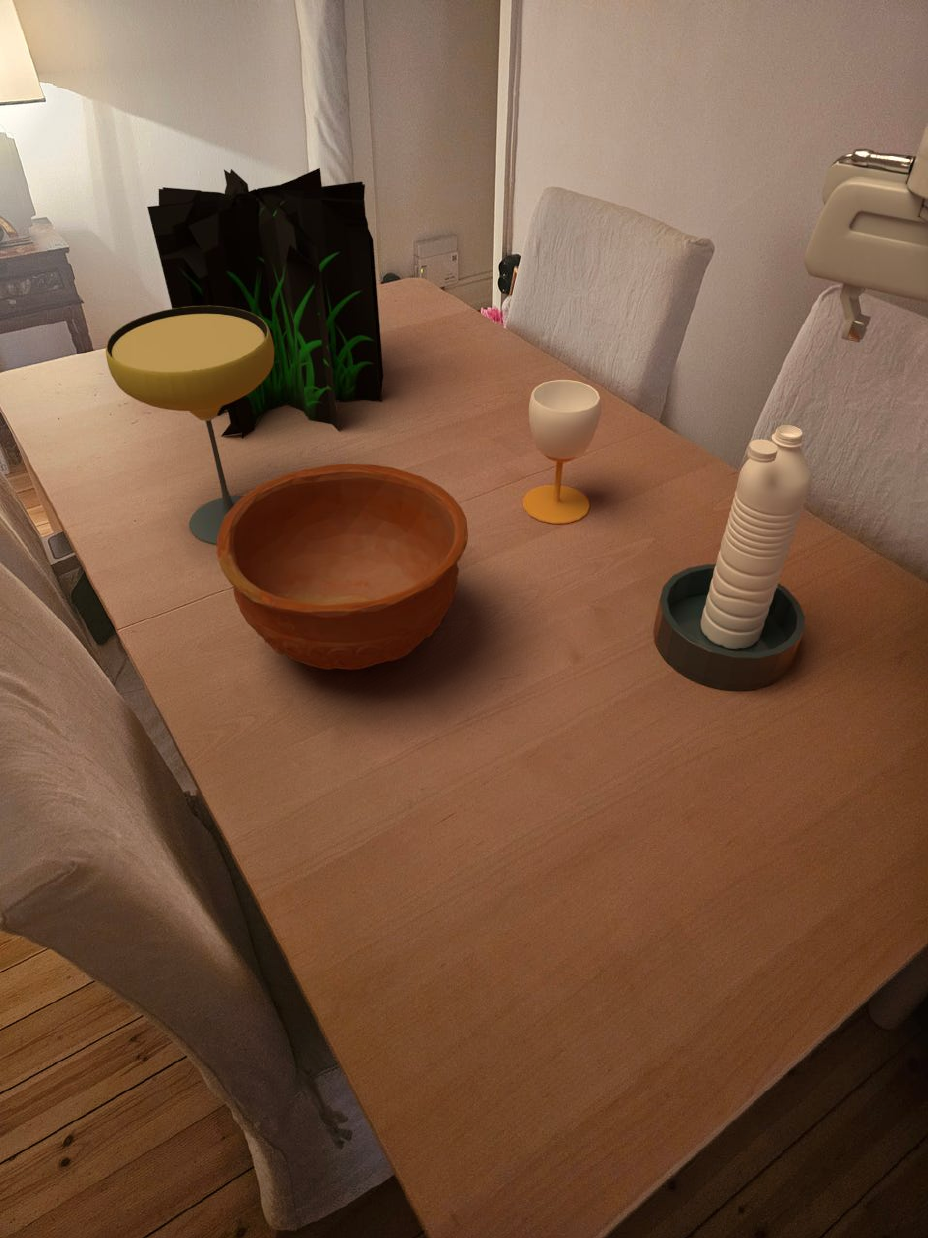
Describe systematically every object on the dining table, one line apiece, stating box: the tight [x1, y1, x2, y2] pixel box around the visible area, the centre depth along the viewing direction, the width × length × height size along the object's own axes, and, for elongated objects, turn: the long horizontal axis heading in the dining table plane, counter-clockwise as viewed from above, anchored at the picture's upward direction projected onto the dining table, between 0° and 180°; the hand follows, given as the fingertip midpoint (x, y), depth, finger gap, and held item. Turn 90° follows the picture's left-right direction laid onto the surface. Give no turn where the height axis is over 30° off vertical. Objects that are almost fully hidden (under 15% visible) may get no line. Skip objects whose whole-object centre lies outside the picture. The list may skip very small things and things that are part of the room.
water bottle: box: [701, 424, 812, 649], centre depth 82 cm, size 9×6×25 cm
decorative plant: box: [146, 167, 384, 440], centre depth 123 cm, size 29×30×30 cm
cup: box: [521, 379, 602, 525], centre depth 105 cm, size 9×9×16 cm
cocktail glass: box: [105, 306, 274, 545], centre depth 100 cm, size 18×18×25 cm
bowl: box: [216, 463, 469, 671], centre depth 87 cm, size 25×25×15 cm
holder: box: [653, 563, 806, 692], centre depth 90 cm, size 15×15×5 cm
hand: (909, 353), depth 67 cm, fingers open, 8 cm apart
